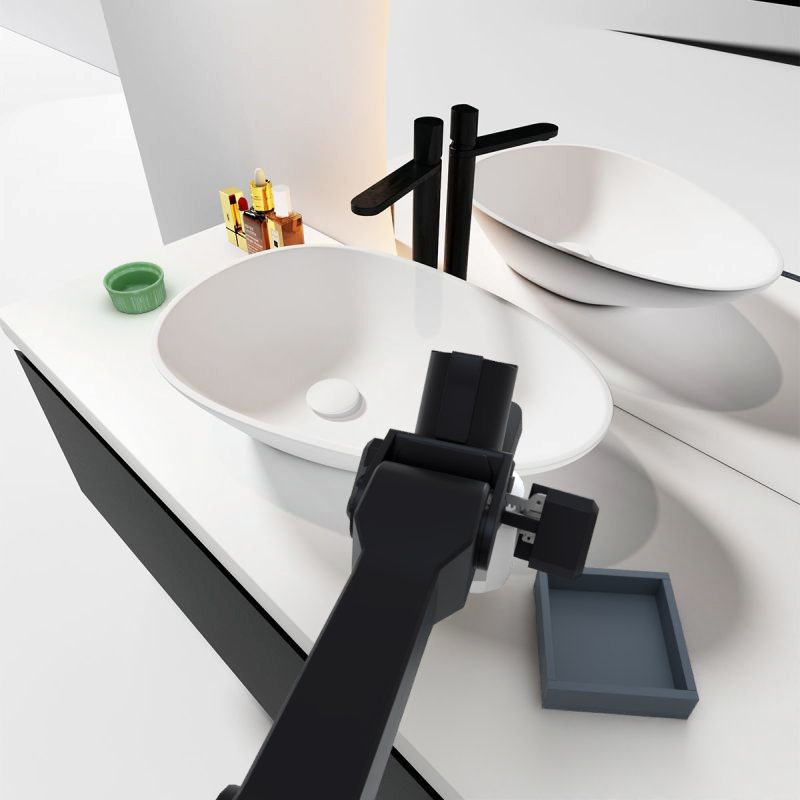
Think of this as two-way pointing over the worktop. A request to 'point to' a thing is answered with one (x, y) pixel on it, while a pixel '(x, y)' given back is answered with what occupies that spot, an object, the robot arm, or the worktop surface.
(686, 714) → the bin
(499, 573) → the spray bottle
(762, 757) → the worktop surface
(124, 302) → the ramekin
